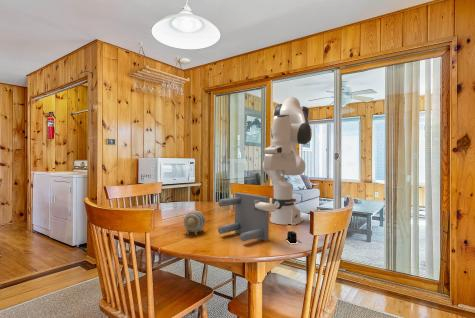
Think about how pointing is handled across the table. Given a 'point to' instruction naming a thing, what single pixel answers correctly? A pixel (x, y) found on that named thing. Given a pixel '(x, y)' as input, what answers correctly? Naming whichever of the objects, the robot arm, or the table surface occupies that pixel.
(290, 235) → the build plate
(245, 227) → the stool
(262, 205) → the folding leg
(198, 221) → the toy sheep
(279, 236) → the table surface
